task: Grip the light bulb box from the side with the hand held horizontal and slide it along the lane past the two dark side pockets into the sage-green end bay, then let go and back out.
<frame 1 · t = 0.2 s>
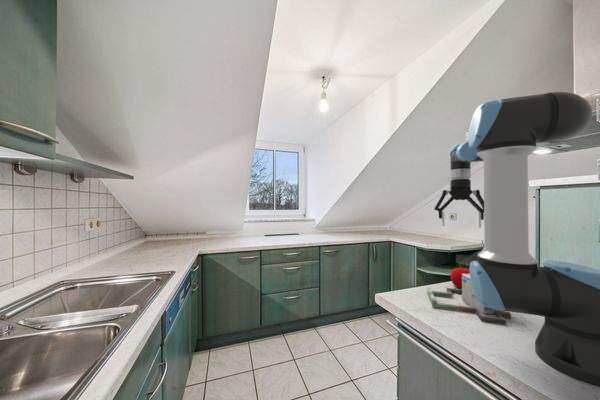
hand: (460, 226, 105), 27 cm above the worktop, tool pointing down, fingers open, 13 cm apart
fruit: (462, 287, 104), on the worktop
light bulb box: (480, 308, 85), resting in trap lane
trap lane: (468, 305, 87), on the worktop
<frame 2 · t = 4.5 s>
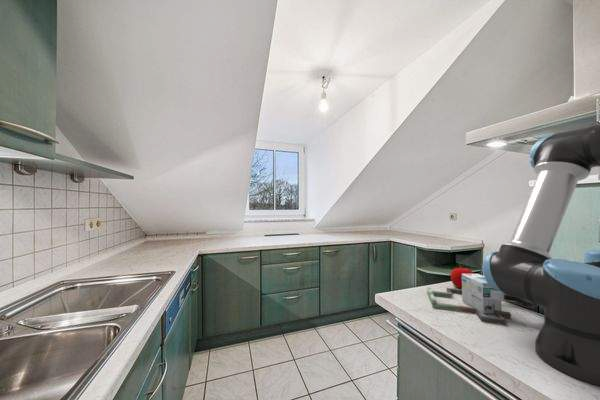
hand: (483, 287, 85), 7 cm above the worktop, tool horizontal, fingers open, 13 cm apart
light bulb box: (480, 308, 85), resting in trap lane, touching gripper
everything else where it was.
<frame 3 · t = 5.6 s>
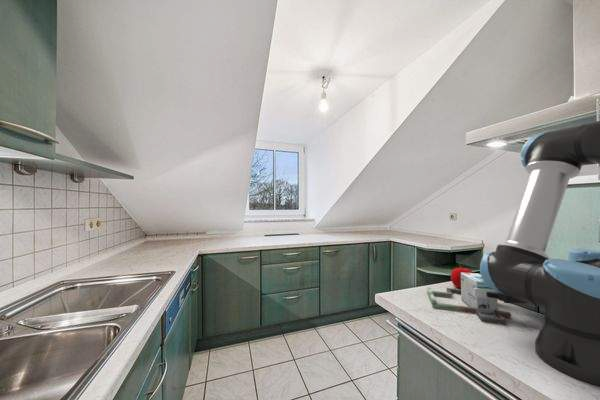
hand: (468, 286, 87), 7 cm above the worktop, tool horizontal, fingers closed on light bulb box, 11 cm apart
light bulb box: (478, 307, 86), resting in trap lane, touching gripper
everything else where it was.
when the fingers open (8 cm above the worktop, at t = 9.7 s): light bulb box stays where it is, resting on trap lane.
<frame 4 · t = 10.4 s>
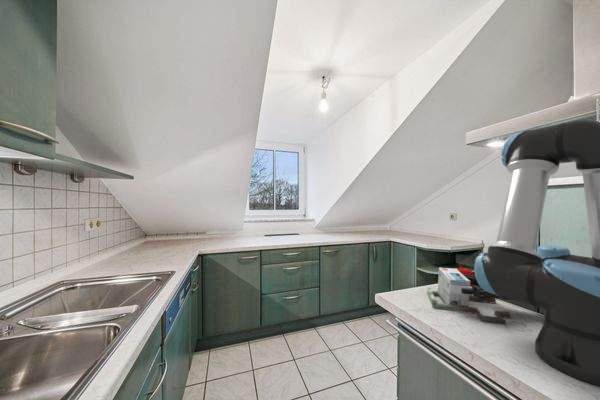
hand: (445, 282, 89), 8 cm above the worktop, tool horizontal, fingers open, 13 cm apart
light bulb box: (451, 300, 89), point 1 cm above the worktop, touching trap lane
everything else where it was.
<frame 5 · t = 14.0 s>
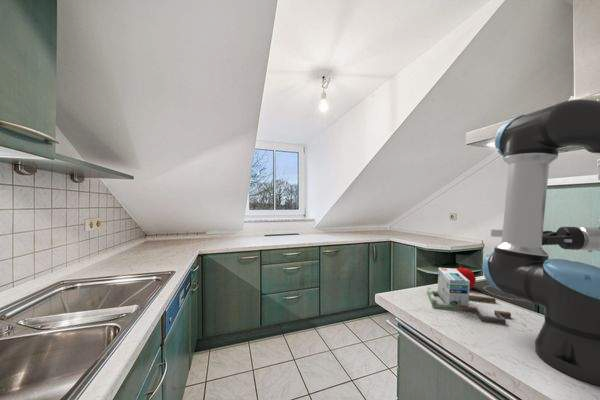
hand: (497, 235, 85), 26 cm above the worktop, tool horizontal, fingers open, 13 cm apart
nothing on the worktop moved.
at the end: light bulb box inside the target area (1.6 cm from its centre), point 0.6 cm above the worktop; light bulb box tilted 8°; the gripper is holding nothing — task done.
